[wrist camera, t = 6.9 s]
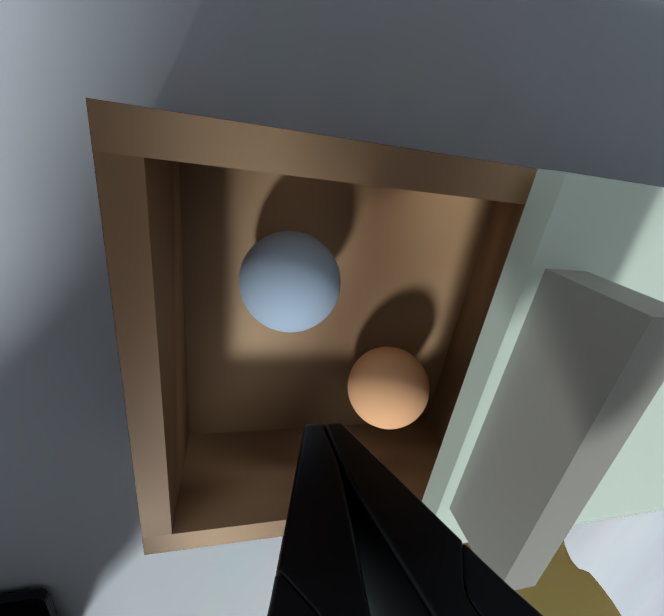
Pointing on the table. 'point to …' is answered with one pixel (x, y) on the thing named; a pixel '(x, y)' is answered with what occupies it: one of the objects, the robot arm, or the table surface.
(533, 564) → the lid
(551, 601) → the cheese
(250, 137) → the walnut box
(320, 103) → the table surface
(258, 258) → the slate-blue ball
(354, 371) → the terracotta ball
